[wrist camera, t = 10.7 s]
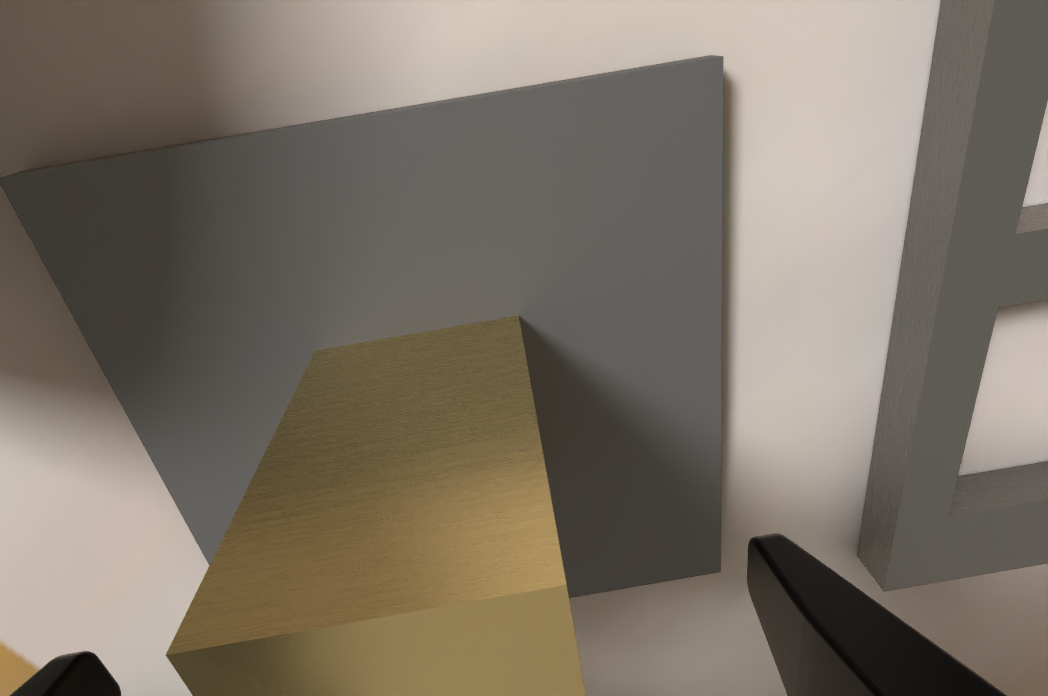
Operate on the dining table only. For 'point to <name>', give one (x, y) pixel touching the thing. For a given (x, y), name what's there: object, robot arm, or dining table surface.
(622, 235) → the rubber pad
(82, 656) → the robot arm
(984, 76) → the grey slotted frame
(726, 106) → the dining table surface
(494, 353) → the mustard yellow block
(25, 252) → the dining table surface
